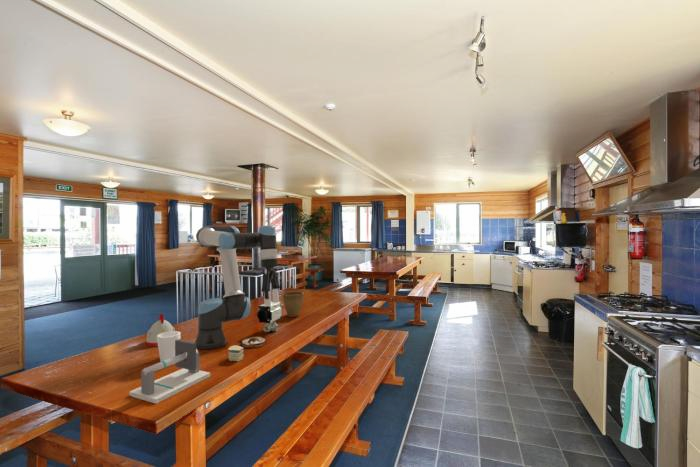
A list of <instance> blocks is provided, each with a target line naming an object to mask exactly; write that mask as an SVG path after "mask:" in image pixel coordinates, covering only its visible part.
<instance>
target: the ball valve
mask: <svg viewBox="0 0 700 467" xmlns="http://www.w3.org/2000/svg"><path fill="white" fill-rule="evenodd" d="M282 316H283V306H282V301H279V302H276V303H273V300H271V306H266V307H265V304H264V303H262V304H260V305H259V306H258V311H257V313H256V317H257V319H258V323H264V325H263V329H262V330H263V331H264V333H270V332H277V331H278V330H279V324H278V323H277V322H276V321H277V320H279V319H281V318H282Z"/></svg>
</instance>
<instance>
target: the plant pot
mask: <svg viewBox="0 0 700 467" xmlns="http://www.w3.org/2000/svg"><path fill="white" fill-rule="evenodd" d="M282 299H283V305H284V308H285V311H286V314H287V316H288V317H290V318H295V317H299V315H300V312H301V309H302V305H303V302H304V292H303V291H286V292H283V293H282Z"/></svg>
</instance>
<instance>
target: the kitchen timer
mask: <svg viewBox="0 0 700 467" xmlns="http://www.w3.org/2000/svg"><path fill="white" fill-rule="evenodd" d="M169 331H176V329H175V327H174V326H173V325H172V324H171V323H170V322H169V321H168V320H165V318H164V315H163V314H162V313H159V316H158V320H156V321H155V322H154V323H153V324H152V325H151V327H150V329H148V330H147V334H146V341H145V342H146V345H147V346H149V347H158V343H157V335H158V334H160V333H164V332H169Z"/></svg>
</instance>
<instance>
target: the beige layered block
mask: <svg viewBox="0 0 700 467" xmlns="http://www.w3.org/2000/svg"><path fill="white" fill-rule="evenodd" d="M227 349H228V351H227V353H228V356H227V357H228V360H229V361H231V362H232V361H234V362H240V361H242V360H243V359H244V356H245V355H244V351H245V350H244V347H243V346H241V345H238V344H237V345H231V346H229V348H227Z"/></svg>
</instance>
